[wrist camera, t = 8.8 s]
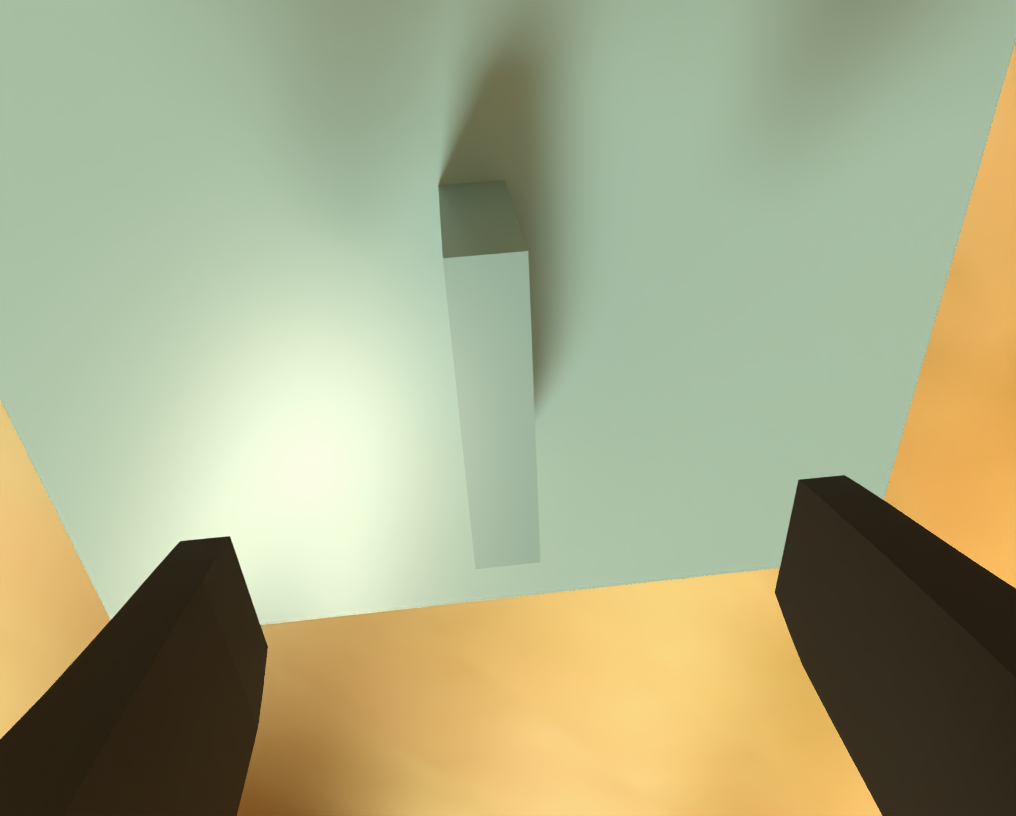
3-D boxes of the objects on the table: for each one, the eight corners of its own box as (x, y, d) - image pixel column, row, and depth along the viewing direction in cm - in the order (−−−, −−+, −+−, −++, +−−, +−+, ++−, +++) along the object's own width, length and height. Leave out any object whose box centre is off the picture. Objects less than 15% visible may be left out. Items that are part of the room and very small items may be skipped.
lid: (1000, -163, 13) (1316, -217, 8) (834, 513, 21) (947, 670, 17) (-165, -97, 12) (-531, -118, 7) (143, 587, 20) (62, 776, 16)
